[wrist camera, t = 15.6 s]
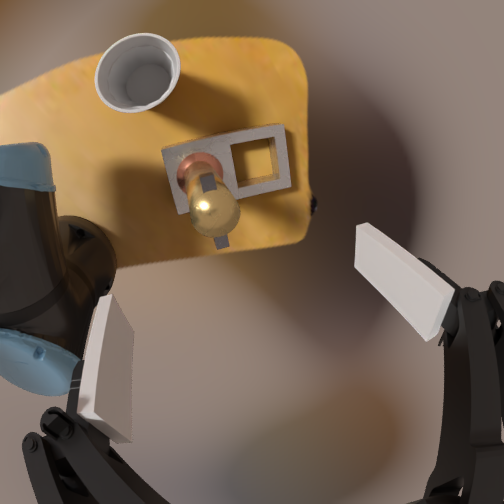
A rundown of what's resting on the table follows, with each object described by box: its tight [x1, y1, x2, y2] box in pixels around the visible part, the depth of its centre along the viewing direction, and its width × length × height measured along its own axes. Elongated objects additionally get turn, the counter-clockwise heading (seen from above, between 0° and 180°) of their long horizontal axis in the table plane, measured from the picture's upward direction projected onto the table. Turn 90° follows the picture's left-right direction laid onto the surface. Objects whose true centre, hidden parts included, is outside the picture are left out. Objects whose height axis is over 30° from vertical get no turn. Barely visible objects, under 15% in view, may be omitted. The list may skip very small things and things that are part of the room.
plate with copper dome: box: [161, 123, 291, 215], centre depth 35 cm, size 16×9×3 cm, turn 99°
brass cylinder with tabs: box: [184, 161, 240, 250], centre depth 28 cm, size 6×4×14 cm, turn 9°
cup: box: [95, 33, 181, 113], centre depth 23 cm, size 8×8×12 cm
